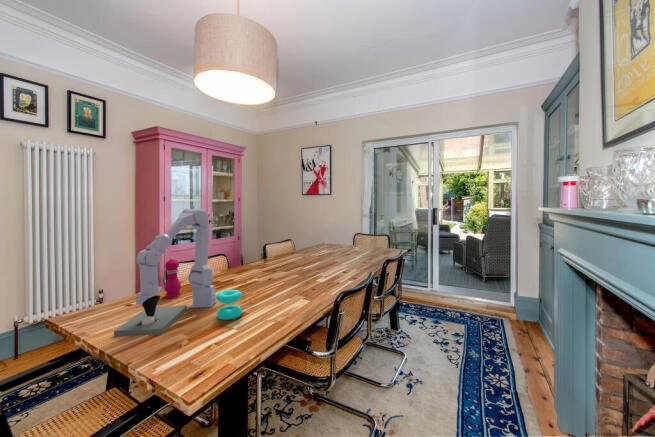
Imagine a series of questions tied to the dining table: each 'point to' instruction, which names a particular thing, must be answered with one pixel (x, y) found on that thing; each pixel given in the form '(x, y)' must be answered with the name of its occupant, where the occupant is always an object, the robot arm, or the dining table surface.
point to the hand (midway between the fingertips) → (150, 315)
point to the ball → (148, 321)
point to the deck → (161, 323)
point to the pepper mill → (172, 279)
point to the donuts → (229, 310)
